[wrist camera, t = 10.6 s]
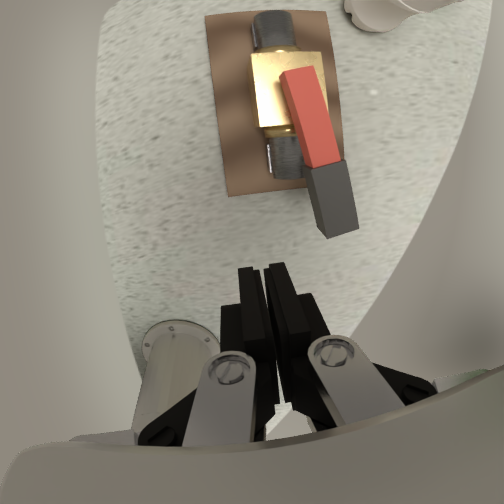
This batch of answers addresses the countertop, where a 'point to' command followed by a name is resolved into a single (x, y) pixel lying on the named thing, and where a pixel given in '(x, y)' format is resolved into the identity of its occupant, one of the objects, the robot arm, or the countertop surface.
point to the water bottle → (388, 12)
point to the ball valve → (278, 89)
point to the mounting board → (238, 96)
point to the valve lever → (320, 153)
